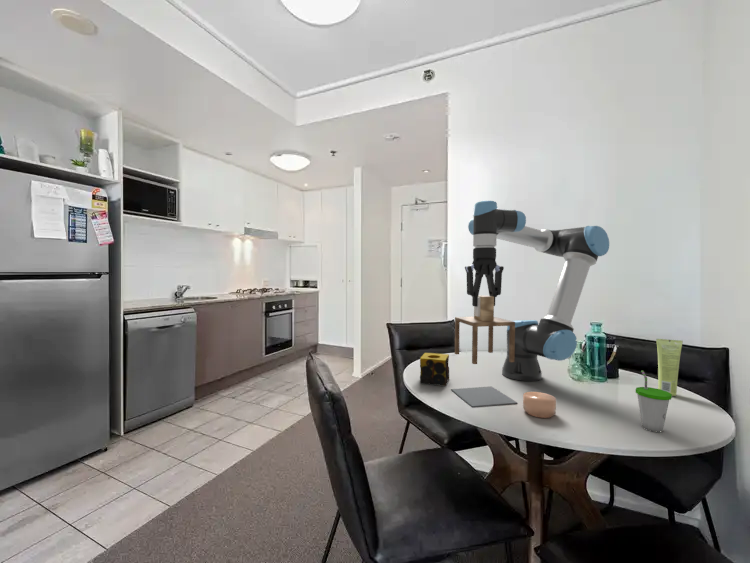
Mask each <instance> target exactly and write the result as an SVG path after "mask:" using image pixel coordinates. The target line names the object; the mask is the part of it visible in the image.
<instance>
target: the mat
mask: <svg viewBox="0 0 750 563" xmlns="http://www.w3.org/2000/svg"><path fill="white" fill-rule="evenodd" d="M450 391H452V392H453V393H454V394H455V395H456V396H457V397H459V398H460V399H461V400H463V401H464V403H466V404H467V403H468V405H469V406H470V407H471V408H479V407H495V406H503V405H505V406H506V405H507V406H508V405H517V404H518V402H517V401H516V400H515V399H513V398H511V397H509V396H508V395H506V394H505V393H503V392H501V391H500V390H499V389H496V388H495V387H493V386H477V387H465V388H464V387H463V388H462V387H461V388H452V389H450Z"/></svg>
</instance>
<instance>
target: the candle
mask: <svg viewBox="0 0 750 563" xmlns="http://www.w3.org/2000/svg"><path fill="white" fill-rule="evenodd" d="M449 359H450V354H447V353H446V354H445V353H437V352H436V353H434V352H424V353H423V354H422V355H421V356H420V358H419V367H420V372H419V373H420V376H419V383H420V384H424V385H432V386H433V385H434V386H441V387H445V386H447V384H448V382H449V380H450V367H449Z"/></svg>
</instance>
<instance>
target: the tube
mask: <svg viewBox="0 0 750 563" xmlns="http://www.w3.org/2000/svg"><path fill="white" fill-rule="evenodd" d="M655 342H656V347H657V348H656V349H657V365H658V366H657V367H658V368H657V376H658V377H657V378H658V379H657V380H658V381H657V382H658V383H657V384H658V385H657V386H658V387H657V389H660V390H664V391H667V392H669V393H670V394H672V397H676V396H677V391H678V378H679V371H680V370H679V369H680V359H681V355H682V354H681V352H682V348H683V339H681V340H679V339H666V338H665V339H664V338H656V340H655Z"/></svg>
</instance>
